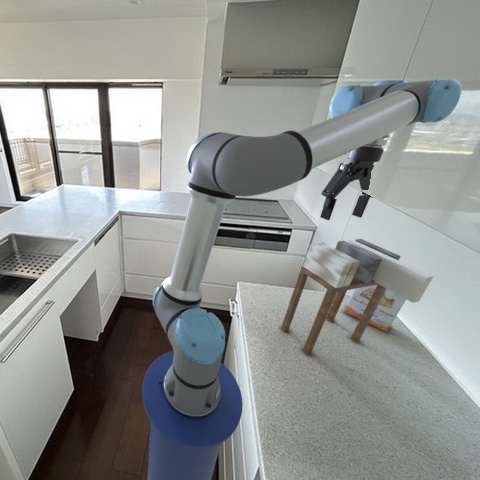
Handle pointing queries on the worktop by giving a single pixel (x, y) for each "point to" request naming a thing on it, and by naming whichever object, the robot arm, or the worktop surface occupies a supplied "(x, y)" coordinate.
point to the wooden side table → (338, 283)
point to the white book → (398, 275)
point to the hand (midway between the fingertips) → (340, 217)
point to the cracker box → (384, 310)
